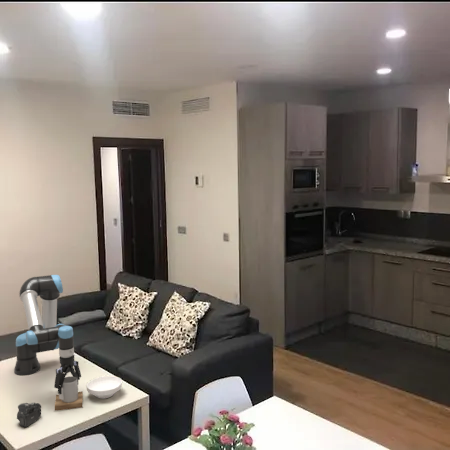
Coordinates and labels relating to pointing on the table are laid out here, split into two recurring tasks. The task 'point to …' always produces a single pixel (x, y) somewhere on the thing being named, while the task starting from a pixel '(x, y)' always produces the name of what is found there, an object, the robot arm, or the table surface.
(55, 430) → the table surface
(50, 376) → the table surface
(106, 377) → the bowl
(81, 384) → the table surface
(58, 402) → the trivet
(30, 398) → the table surface
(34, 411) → the camera
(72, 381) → the mug
